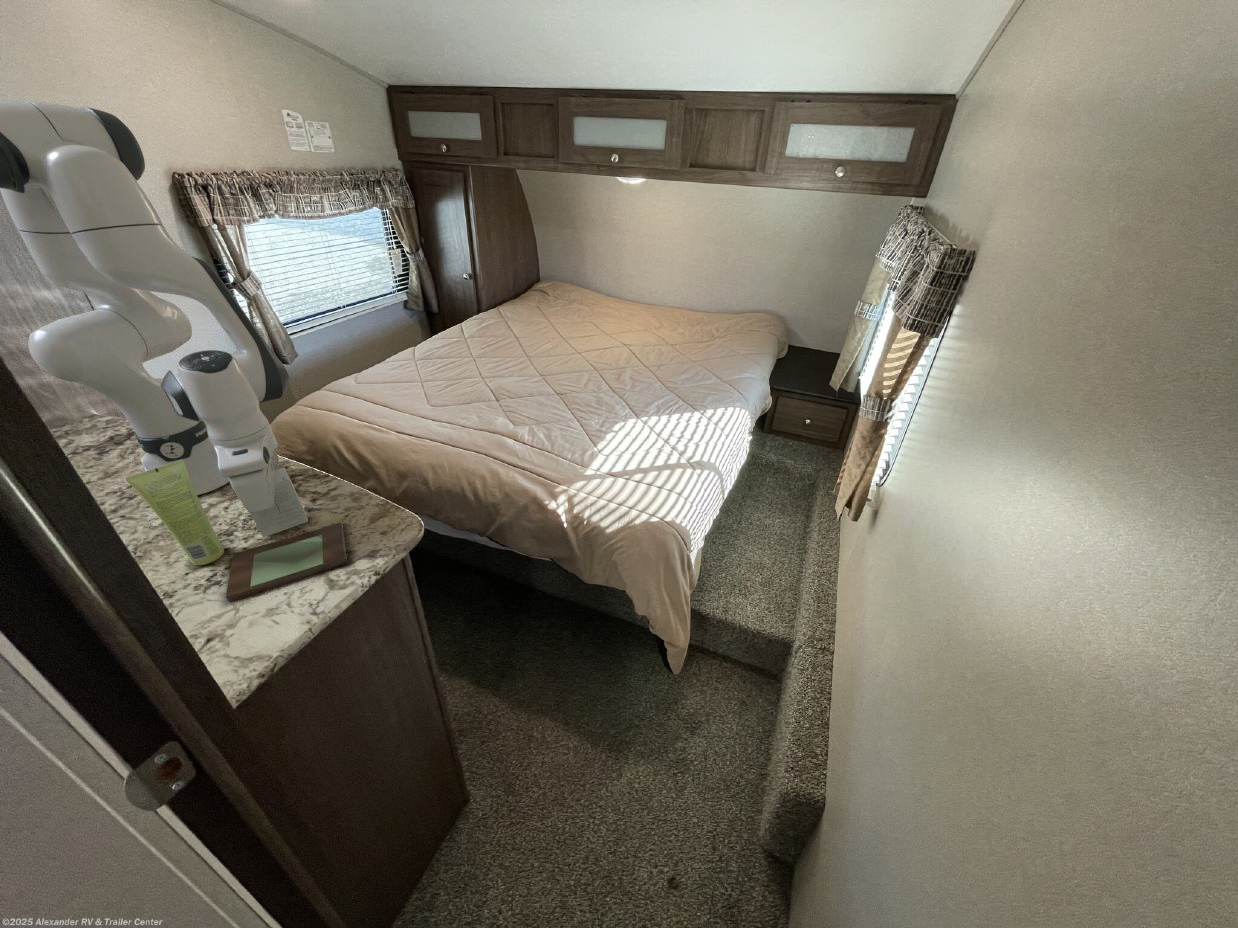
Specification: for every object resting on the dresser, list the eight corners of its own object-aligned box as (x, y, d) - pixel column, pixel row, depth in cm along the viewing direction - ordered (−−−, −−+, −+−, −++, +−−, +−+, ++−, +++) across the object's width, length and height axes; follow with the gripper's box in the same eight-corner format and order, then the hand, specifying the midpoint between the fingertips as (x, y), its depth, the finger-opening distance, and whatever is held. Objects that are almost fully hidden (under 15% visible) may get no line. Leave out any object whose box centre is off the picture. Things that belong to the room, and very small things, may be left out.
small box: (304, 508, 101) (285, 466, 96) (309, 522, 98) (289, 478, 92) (259, 523, 97) (236, 480, 91) (262, 538, 93) (239, 494, 88)
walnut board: (235, 558, 90) (232, 553, 89) (343, 526, 97) (341, 521, 96) (228, 602, 81) (225, 596, 80) (347, 563, 88) (345, 558, 87)
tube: (206, 546, 93) (152, 459, 82) (233, 545, 93) (182, 458, 83) (185, 567, 88) (124, 477, 78) (213, 566, 88) (156, 476, 78)
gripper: (231, 422, 94) (260, 481, 101) (216, 475, 79) (252, 539, 86) (269, 415, 96) (295, 473, 104) (262, 464, 81) (293, 528, 89)
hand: (275, 504), depth 95 cm, fingers closed on small box, 6 cm apart
